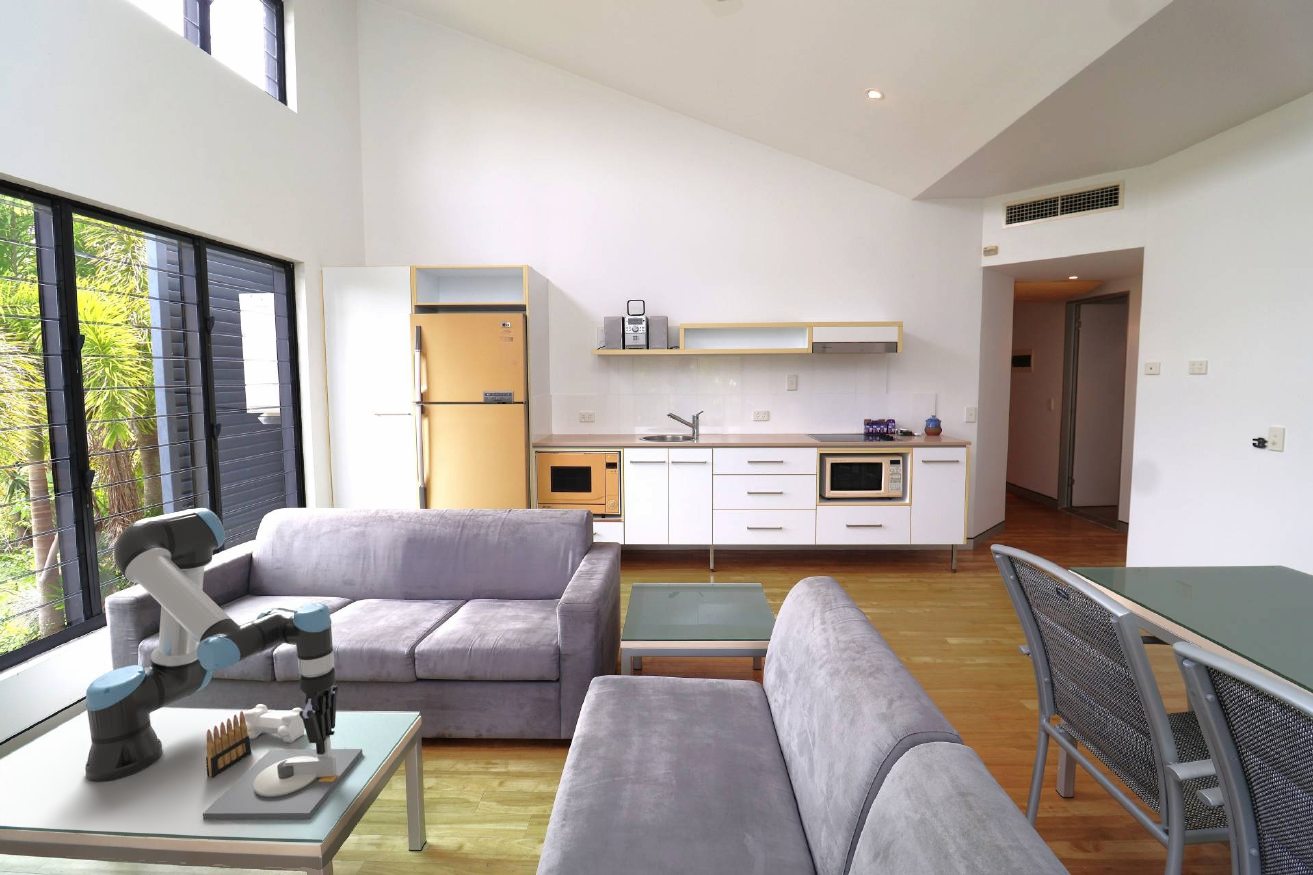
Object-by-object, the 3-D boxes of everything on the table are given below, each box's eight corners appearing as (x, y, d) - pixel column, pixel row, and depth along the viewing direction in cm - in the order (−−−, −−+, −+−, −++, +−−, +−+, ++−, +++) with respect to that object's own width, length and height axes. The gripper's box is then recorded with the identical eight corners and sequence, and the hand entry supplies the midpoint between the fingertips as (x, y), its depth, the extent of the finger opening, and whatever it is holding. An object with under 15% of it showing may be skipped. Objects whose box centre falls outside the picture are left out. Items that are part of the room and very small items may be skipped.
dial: (240, 798, 147) (238, 781, 146) (273, 761, 161) (272, 745, 160) (321, 793, 148) (320, 776, 147) (347, 757, 161) (346, 741, 161)
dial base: (203, 819, 143) (202, 812, 142) (271, 754, 166) (270, 748, 166) (309, 819, 142) (309, 812, 142) (362, 754, 166) (362, 748, 165)
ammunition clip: (212, 778, 157) (207, 731, 156) (207, 777, 158) (201, 730, 157) (251, 753, 168) (247, 709, 166) (246, 752, 168) (241, 708, 167)
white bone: (310, 733, 177) (310, 703, 177) (286, 748, 169) (285, 717, 169) (264, 728, 181) (263, 699, 180) (238, 743, 172) (237, 712, 172)
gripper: (316, 658, 160) (324, 747, 162) (284, 683, 147) (293, 780, 149) (346, 657, 159) (353, 747, 162) (317, 683, 146) (325, 780, 149)
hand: (325, 763), depth 156 cm, fingers closed
